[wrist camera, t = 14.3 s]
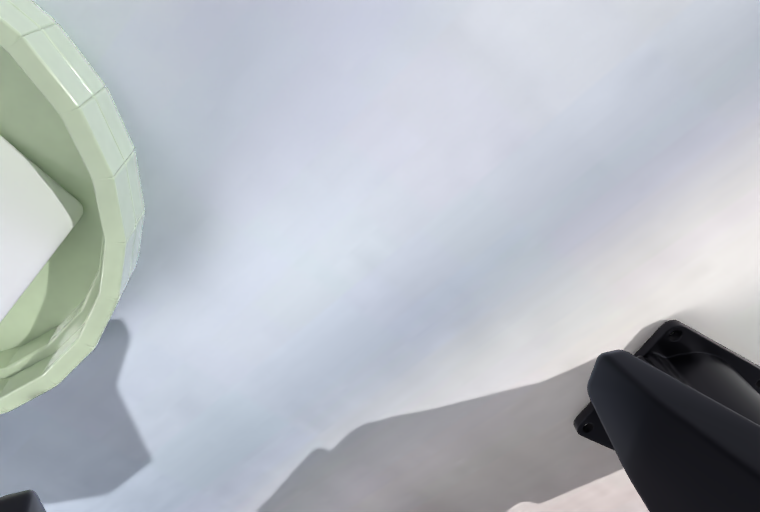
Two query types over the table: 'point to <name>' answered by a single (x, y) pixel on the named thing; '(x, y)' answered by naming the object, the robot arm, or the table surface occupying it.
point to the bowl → (83, 181)
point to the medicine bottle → (29, 222)
